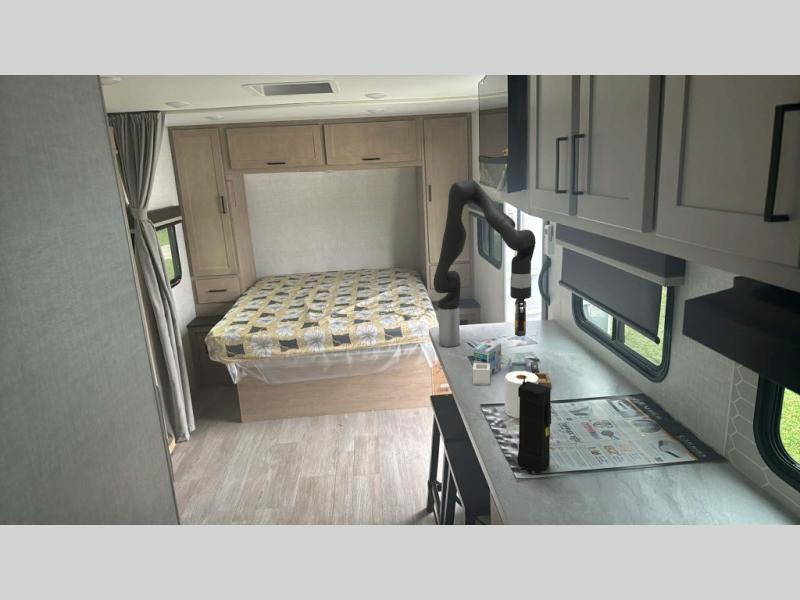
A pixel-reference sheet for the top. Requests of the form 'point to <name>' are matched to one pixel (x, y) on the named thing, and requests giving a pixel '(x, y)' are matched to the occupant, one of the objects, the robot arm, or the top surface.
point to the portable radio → (534, 426)
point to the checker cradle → (522, 366)
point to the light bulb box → (489, 355)
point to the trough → (543, 379)
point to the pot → (481, 374)
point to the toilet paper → (515, 390)
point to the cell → (517, 333)
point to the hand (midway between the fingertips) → (520, 328)
